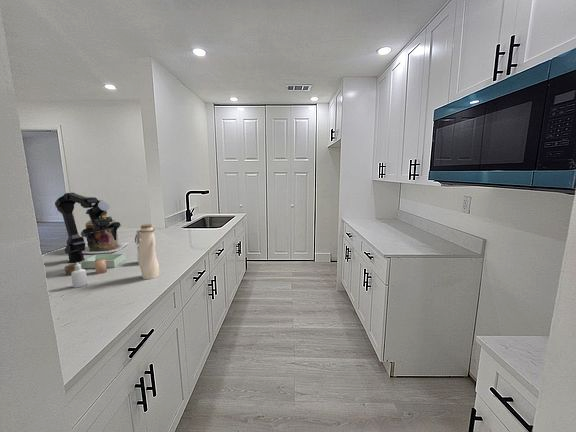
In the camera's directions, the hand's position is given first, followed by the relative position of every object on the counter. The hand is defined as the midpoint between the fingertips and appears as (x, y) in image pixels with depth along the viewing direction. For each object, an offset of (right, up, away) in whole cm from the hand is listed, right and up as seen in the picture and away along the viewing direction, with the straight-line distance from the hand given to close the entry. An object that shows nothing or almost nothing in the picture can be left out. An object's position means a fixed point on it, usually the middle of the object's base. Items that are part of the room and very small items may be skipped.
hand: (107, 242), depth 153 cm
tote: (-8, -14, +9) cm, 18 cm away
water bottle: (+29, -17, -10) cm, 36 cm away
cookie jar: (-30, -9, +41) cm, 52 cm away
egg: (-1, -16, -4) cm, 17 cm away
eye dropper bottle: (+2, -19, -22) cm, 29 cm away
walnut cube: (-15, -17, -5) cm, 23 cm away
